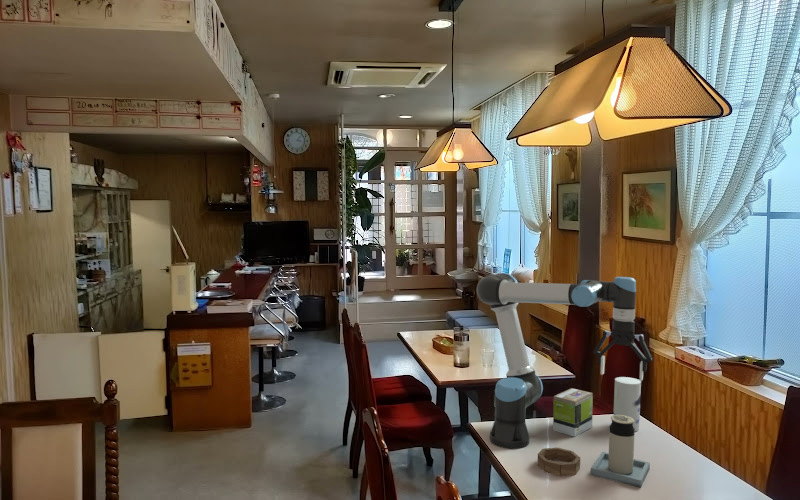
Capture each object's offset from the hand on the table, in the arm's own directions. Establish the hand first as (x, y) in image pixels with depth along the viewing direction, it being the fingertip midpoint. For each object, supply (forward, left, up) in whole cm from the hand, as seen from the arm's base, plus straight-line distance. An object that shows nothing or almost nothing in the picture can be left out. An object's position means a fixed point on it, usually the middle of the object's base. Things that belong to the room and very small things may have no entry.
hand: (621, 376), depth 212 cm
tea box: (-21, +14, -29) cm, 38 cm away
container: (-3, +28, -29) cm, 40 cm away
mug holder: (-15, -24, -29) cm, 40 cm away
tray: (+4, -16, -29) cm, 33 cm away
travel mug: (+4, -16, -28) cm, 33 cm away
